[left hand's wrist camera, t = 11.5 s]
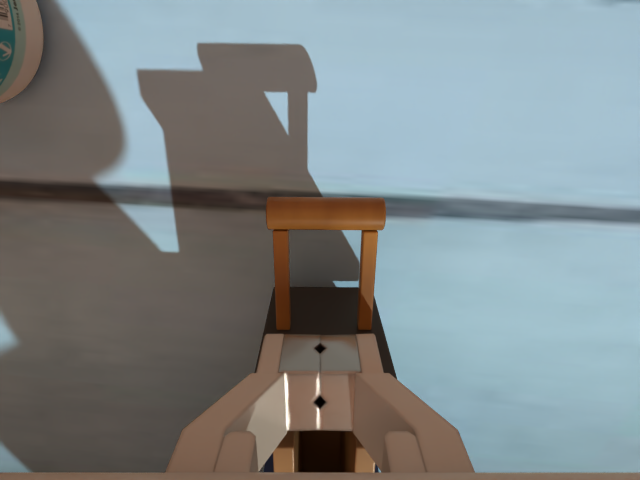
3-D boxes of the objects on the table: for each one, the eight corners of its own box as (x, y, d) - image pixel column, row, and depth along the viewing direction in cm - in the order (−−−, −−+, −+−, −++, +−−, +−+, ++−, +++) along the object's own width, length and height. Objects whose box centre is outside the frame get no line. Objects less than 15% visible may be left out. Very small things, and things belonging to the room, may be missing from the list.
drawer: (269, 177, 19) (236, 236, 11) (378, 178, 19) (421, 237, 11) (282, 506, 27) (268, 667, 19) (357, 505, 27) (373, 667, 19)
